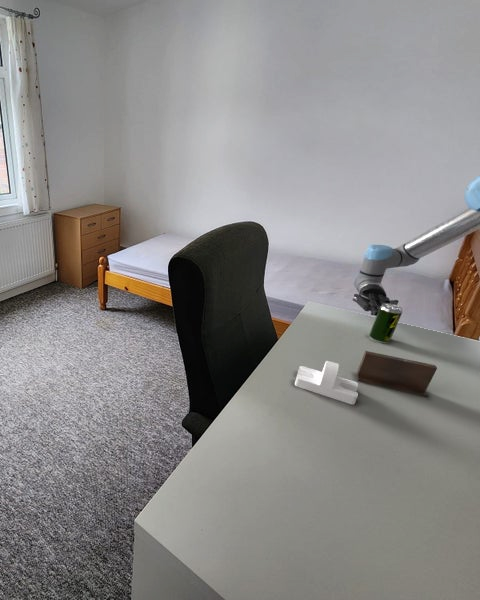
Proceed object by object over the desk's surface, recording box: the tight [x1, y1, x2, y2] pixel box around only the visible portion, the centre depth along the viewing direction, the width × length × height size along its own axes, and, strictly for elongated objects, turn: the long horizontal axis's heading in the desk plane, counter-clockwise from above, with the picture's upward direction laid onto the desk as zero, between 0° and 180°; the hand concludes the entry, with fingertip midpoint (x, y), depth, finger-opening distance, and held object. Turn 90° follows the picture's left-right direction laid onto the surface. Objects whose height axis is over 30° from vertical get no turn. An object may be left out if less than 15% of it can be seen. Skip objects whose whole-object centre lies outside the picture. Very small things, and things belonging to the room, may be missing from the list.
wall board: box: [355, 350, 438, 398], centre depth 88 cm, size 14×3×8 cm, turn 60°
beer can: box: [368, 303, 404, 344], centre depth 108 cm, size 5×5×12 cm
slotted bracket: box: [294, 360, 359, 405], centre depth 88 cm, size 13×7×8 cm, turn 53°
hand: (383, 319), depth 110 cm, fingers closed
